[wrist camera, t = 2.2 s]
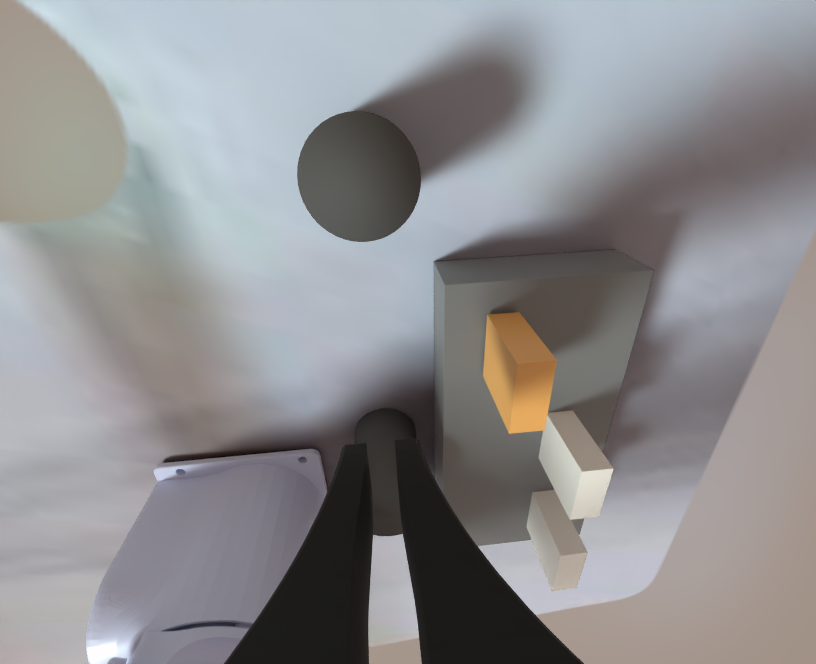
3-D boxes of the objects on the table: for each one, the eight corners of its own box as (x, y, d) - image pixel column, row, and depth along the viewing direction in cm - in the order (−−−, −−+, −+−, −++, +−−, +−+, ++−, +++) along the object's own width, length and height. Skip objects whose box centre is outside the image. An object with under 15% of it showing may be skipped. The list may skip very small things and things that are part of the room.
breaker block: (434, 508, 27) (454, 616, 21) (433, 261, 19) (465, 329, 13) (559, 495, 28) (611, 596, 22) (614, 249, 19) (725, 308, 13)
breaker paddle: (482, 376, 18) (509, 433, 15) (487, 314, 17) (517, 363, 13) (512, 373, 18) (544, 430, 15) (519, 312, 17) (556, 360, 13)
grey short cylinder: (358, 456, 24) (356, 539, 20) (352, 411, 23) (348, 491, 18) (415, 450, 25) (427, 531, 20) (413, 406, 23) (426, 482, 18)
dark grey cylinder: (324, 209, 17) (307, 245, 12) (311, 114, 15) (286, 114, 11) (406, 204, 17) (422, 237, 13) (402, 111, 16) (419, 108, 11)
